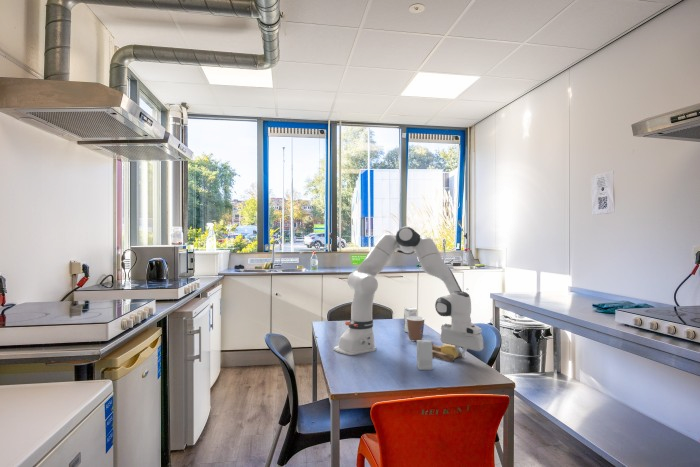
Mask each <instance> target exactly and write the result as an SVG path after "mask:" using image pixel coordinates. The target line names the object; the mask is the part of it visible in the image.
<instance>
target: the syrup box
mask: <svg viewBox="0 0 700 467" xmlns="http://www.w3.org/2000/svg"><path fill="white" fill-rule="evenodd" d="M411 316H418V309H417V308H416V307H404V309H403V331H404V332H405V333H407V334H409V333H408V324H407V317H411Z"/></svg>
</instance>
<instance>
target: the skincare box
mask: <svg viewBox="0 0 700 467" xmlns="http://www.w3.org/2000/svg"><path fill="white" fill-rule="evenodd" d="M432 343H433V341H432V340H430V339H422V340H417V341H416V367H417V369H418V370H419V371H423V370H424V371H425V370H427V371H428V370H429V371H431V370H433V357H432Z"/></svg>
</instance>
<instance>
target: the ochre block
mask: <svg viewBox="0 0 700 467" xmlns="http://www.w3.org/2000/svg"><path fill="white" fill-rule="evenodd" d="M441 352H442V353H446V354H450V355H454V360H455V359H456V358H458V356H457V351H456V349H455V346H454V345H449V344H445V343H444V344H443V345H441Z"/></svg>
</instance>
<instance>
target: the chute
mask: <svg viewBox="0 0 700 467" xmlns="http://www.w3.org/2000/svg"><path fill="white" fill-rule="evenodd" d="M441 346H442V345H441ZM441 346H440V345H436V344H434V343H433V342H432V358H435V359H439V360H443V361H446V362H449V363H452V362H454V361H455V359H454V355H450V354H446V353H442V352H441ZM460 352H463V350H460ZM457 358H459V359H460V358H462V357H461V356H458V357H457Z"/></svg>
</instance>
